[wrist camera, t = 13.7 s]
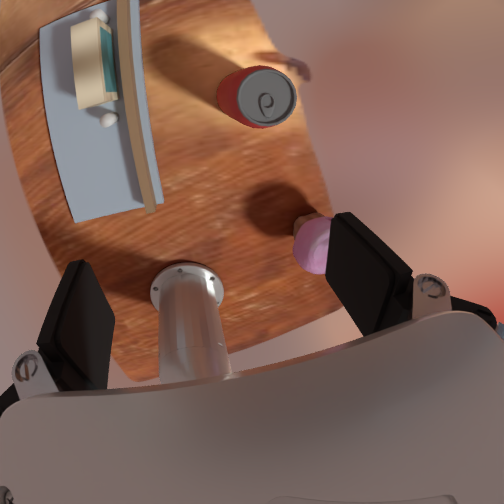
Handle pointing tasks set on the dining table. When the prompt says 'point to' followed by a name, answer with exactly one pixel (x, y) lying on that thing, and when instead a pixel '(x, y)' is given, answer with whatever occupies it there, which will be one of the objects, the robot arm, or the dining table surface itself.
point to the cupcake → (312, 242)
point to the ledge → (82, 131)
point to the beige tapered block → (93, 63)
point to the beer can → (257, 96)
